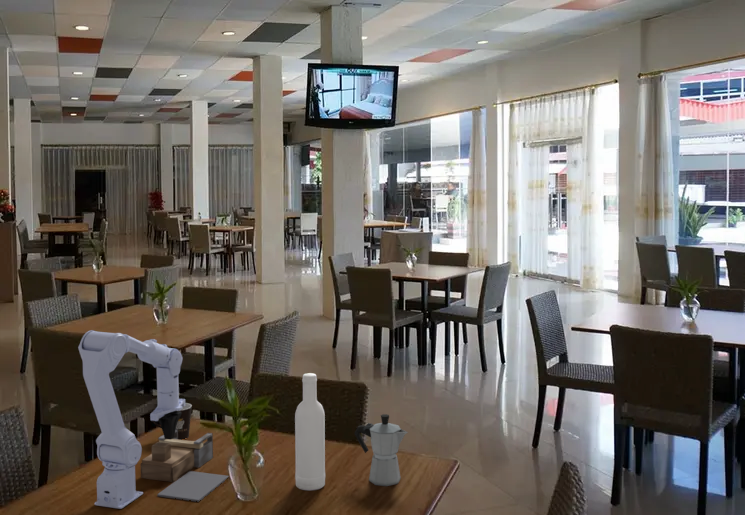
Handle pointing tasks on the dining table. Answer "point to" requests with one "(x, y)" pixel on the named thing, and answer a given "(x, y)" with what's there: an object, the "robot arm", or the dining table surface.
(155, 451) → the toolbox lid
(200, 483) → the lid mat
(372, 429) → the coffee maker
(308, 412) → the bottle
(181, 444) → the bar
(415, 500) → the dining table surface
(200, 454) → the toolbox
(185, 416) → the coffee mug
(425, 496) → the dining table surface
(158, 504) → the dining table surface
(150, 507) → the dining table surface
